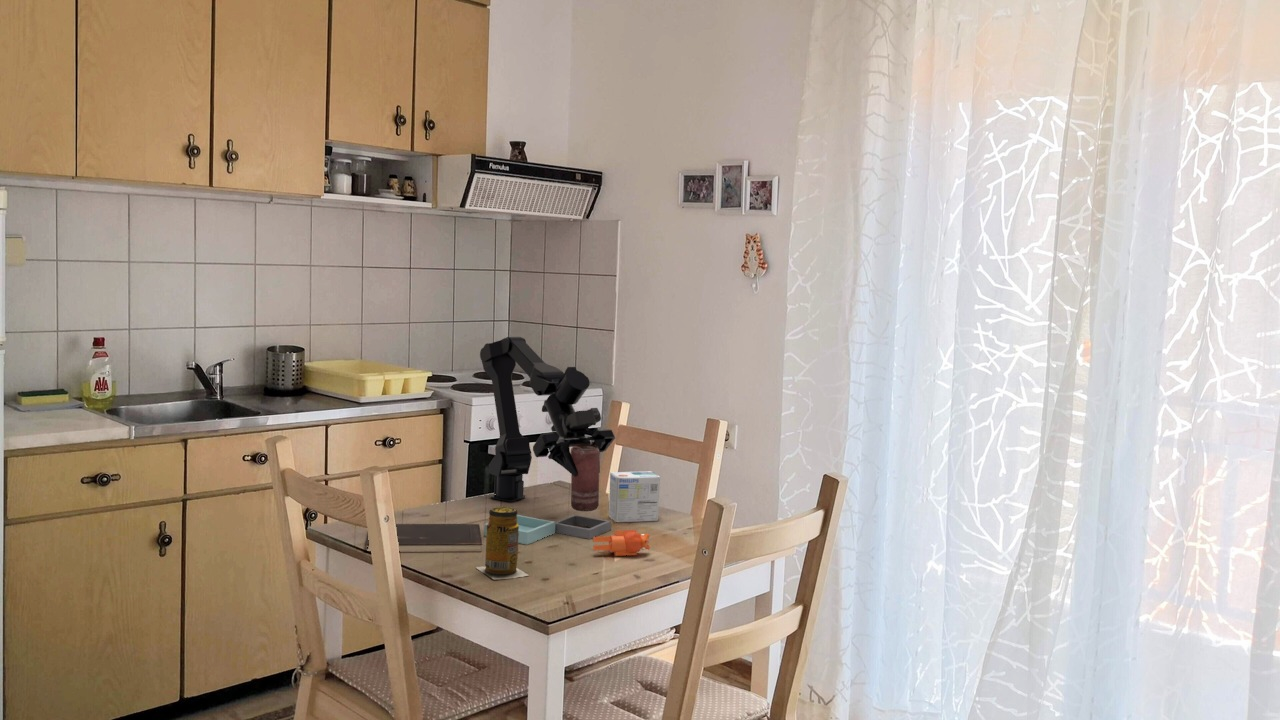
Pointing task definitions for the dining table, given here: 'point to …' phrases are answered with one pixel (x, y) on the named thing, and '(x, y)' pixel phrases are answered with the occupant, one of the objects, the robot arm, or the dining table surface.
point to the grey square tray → (566, 527)
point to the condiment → (502, 545)
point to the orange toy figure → (623, 542)
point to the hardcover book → (438, 537)
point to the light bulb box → (634, 496)
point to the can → (585, 477)
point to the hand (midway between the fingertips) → (587, 474)
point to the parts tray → (531, 529)
